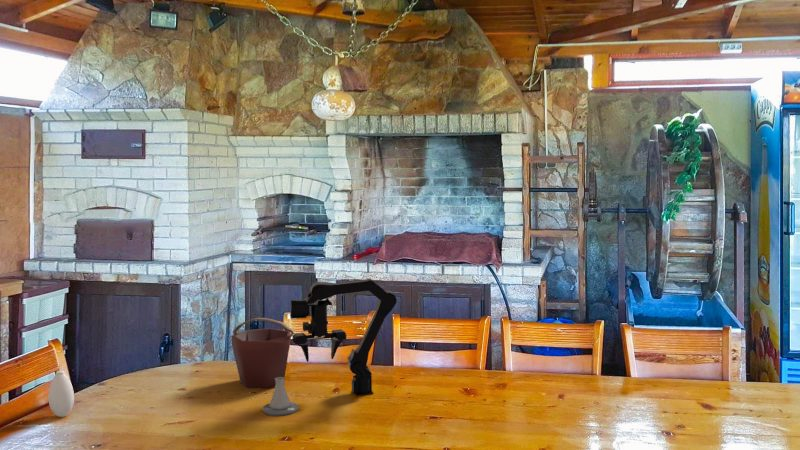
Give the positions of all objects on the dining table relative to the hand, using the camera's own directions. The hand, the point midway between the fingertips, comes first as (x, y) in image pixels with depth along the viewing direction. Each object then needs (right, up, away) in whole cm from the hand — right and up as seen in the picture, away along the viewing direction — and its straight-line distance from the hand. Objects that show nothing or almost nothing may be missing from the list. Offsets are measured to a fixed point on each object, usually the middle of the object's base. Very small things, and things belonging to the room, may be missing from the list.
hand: (319, 360), depth 272 cm
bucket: (-24, -12, +17) cm, 32 cm away
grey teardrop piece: (-85, -16, -19) cm, 88 cm away
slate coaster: (-12, -14, -14) cm, 24 cm away
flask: (-12, -14, -14) cm, 23 cm away
